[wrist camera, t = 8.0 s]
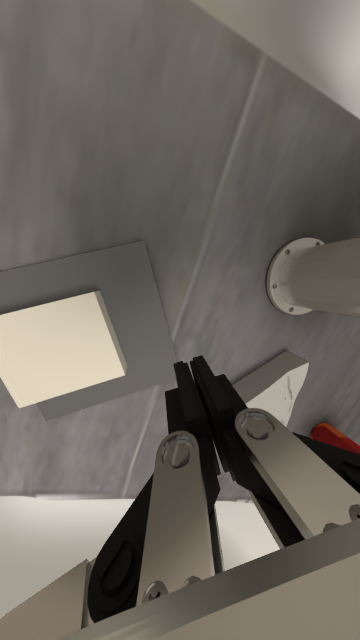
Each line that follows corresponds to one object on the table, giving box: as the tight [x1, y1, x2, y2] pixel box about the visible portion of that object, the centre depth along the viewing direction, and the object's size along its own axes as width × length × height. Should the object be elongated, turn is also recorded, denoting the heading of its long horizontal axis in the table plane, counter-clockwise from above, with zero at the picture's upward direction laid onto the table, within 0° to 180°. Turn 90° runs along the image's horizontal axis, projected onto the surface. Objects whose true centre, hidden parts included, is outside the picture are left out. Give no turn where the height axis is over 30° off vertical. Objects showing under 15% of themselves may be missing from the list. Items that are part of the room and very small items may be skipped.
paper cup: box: [310, 423, 360, 455], centre depth 34 cm, size 8×8×14 cm
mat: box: [0, 240, 177, 421], centre depth 26 cm, size 22×22×1 cm
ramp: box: [232, 350, 309, 427], centre depth 33 cm, size 28×16×5 cm, turn 160°
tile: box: [0, 290, 127, 408], centre depth 23 cm, size 3×12×14 cm
